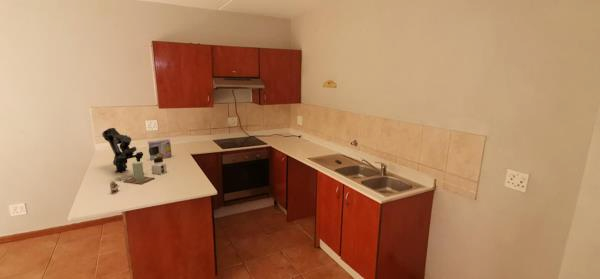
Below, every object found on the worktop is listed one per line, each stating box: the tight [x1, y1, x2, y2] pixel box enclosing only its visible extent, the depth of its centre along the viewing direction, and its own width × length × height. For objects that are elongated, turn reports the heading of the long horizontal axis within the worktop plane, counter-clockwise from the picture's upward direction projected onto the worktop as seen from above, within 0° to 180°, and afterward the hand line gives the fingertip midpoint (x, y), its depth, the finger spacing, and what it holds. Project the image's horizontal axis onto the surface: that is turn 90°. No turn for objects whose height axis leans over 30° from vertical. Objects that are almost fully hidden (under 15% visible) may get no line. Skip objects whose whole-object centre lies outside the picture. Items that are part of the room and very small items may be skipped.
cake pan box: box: [147, 138, 173, 161], centre depth 274 cm, size 19×5×18 cm, turn 129°
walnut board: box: [123, 176, 156, 185], centre depth 218 cm, size 16×13×1 cm
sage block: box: [132, 160, 145, 181], centre depth 217 cm, size 5×5×13 cm
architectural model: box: [109, 180, 120, 194], centre depth 196 cm, size 3×7×7 cm, turn 9°
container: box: [150, 157, 168, 176], centre depth 234 cm, size 8×8×13 cm
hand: (133, 166), depth 221 cm, fingers open, 9 cm apart
